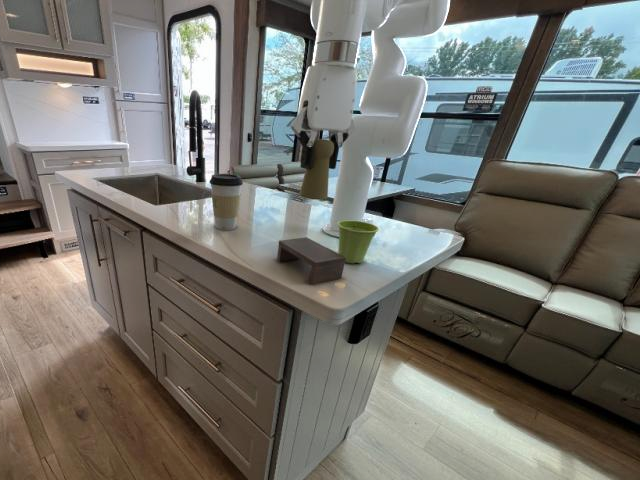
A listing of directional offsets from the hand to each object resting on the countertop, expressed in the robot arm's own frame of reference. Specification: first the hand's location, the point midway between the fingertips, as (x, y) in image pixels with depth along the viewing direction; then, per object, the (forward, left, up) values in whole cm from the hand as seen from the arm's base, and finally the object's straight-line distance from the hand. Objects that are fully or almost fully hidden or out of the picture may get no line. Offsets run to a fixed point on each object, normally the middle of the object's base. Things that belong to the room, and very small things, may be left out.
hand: (317, 167), depth 65 cm
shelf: (+1, +3, -22) cm, 22 cm away
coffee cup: (+6, -33, -22) cm, 40 cm away
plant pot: (-13, +2, -22) cm, 25 cm away
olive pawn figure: (0, 0, -6) cm, 6 cm away
